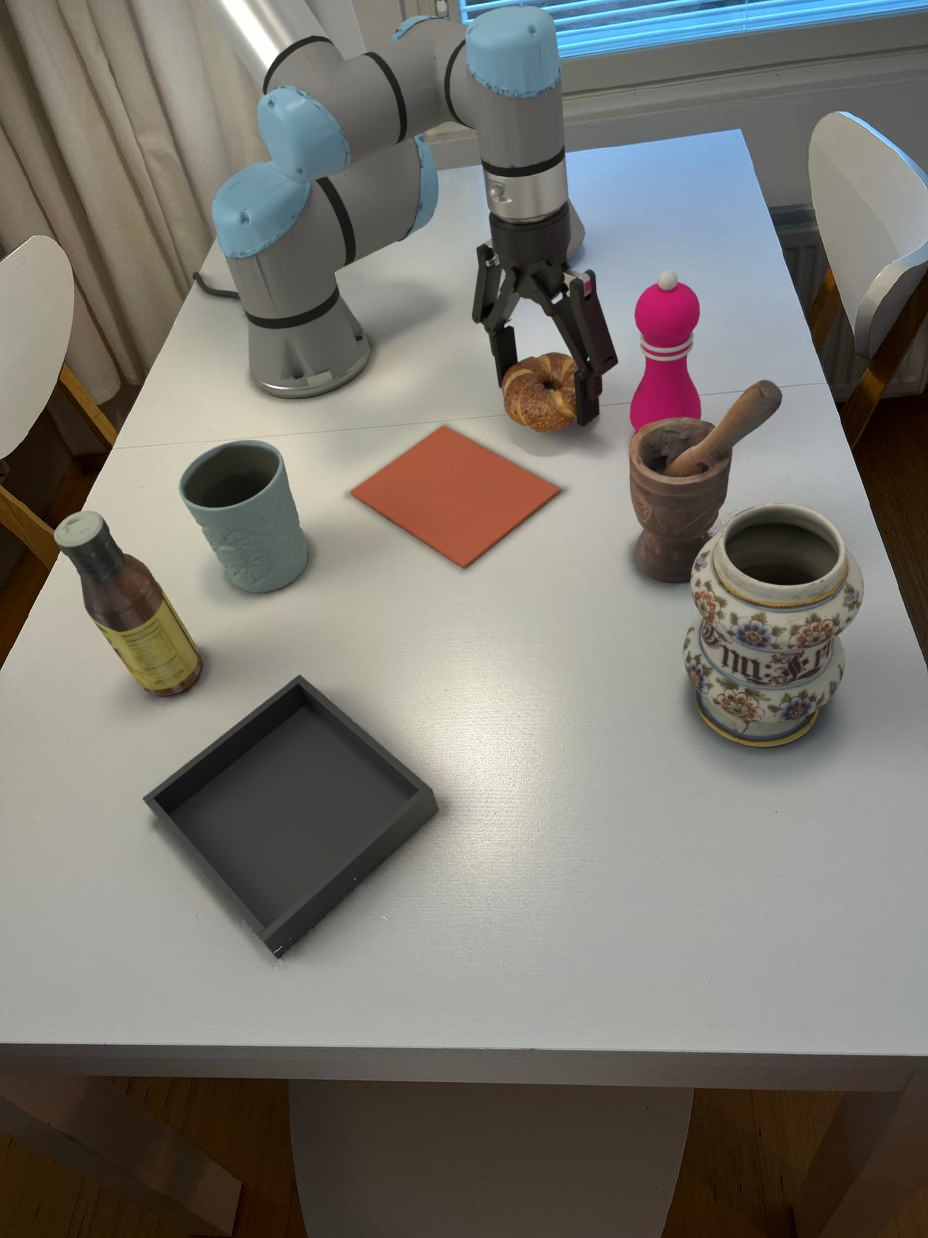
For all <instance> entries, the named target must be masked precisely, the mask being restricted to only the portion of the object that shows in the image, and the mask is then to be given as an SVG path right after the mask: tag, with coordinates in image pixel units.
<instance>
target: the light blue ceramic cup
mask: <svg viewBox="0 0 928 1238" xmlns="http://www.w3.org/2000/svg"><path fill="white" fill-rule="evenodd" d="M288 477H289V476H288V473H287V468H286V465H285V460H284V458H283V455H282V453H281V452H280V451H279V449H278V448H277V447H276V446H274V445H272V444H271V443H269V442H266V441H262V440H258V439H240V440H233V441H229V442H225V443H222V444H219V445H216V446H214V447H212V448H210V449H208V450H207V451H205V452H202V453H201V454H200V455H199V456H197V457H196V458H195V459H194V460H193V461H192V462H190V464H189V465H188V466H187V467H186V468H185V470H184V471H183V473H182V474H181V476H180V479H179V481H178V494H179V496H180V498H181V500H182V502H183V503H184V505H185V507H186V508H187V510H188V511H189V512H190V514H191V516H192V517H193V518H194V520H195V522H196V524H197V525H198V526H200V527H201V533H202V534H203V536H204V537H205V540H206V541H207V542H208V544H209V546H210V548H211V549H212V551H213V552H214V554H215V556H216V558H217V559H218V561H219V563H220V564H221V566H222V568H223V570H224V571H225V573H226V575H227V577H228V578H229V580H230V581H231V583H233V584H234V585H235V586H236V587H237V588H239V589H241V590H242V591H245V592H248V593H251V594H252V593H254V594H261V593H270V592H274V591H277V590H280V589H282V588H284V587H286V586H288V585H289V584H291V583H293V582H294V581H295V580H296V579H298V577H299V576H300V575H301V574H302V573H304V570H305V568H306V566H307V564H308V562H309V555H310V554H309V547H308V543H307V540H306V536H305V532H304V530H303V529H302V528H301V526H300V516H299V513H298V509H297V506H296V502H295V500H294V497H293V493H292V490H291V487H290V482H289V478H288Z"/></svg>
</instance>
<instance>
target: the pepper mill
mask: <svg viewBox="0 0 928 1238" xmlns="http://www.w3.org/2000/svg"><path fill="white" fill-rule="evenodd" d="M700 317H701V305H700V301H699V298H698V296H697V294H696V293H695V291H694V290H693V289H692V288H691V287H690V286H688V284H685V283H683V282H680V281H679V280H678V275H677V273H676V272H675V271H673V270H671V269H666V270H664V271H662V272H661V273H659V275H658V277H657V282H656V283H654V284H652V285H650V286H649V287H647V288H646V289H644V291H643V292H641V294H640V296H639V297H638V299H637V301H636V304H635V308H634V321H635V326H636V328H637V329H638V331H639V332H640V335H639V340H640V344H639V349H640V352H641V353H642V354H643V355H644V356H645V357H644V358H645V369H644V373H643V376H642V378H641V380H640V382H639V384H638V386H637V387H636V389H635V391H634V393H633V396H632V399H631V402H630V405H629V421H630V424H631V426H632V428H633V429H634V435H635V434H636V433H638V432H639V430H640V429H641V428H642V427H643V426H645V425H646V424H651V423H653V422H656V421H658V420H660V421H661V420H663V419H669V418H680V417H688V418H695V419H700V420H702V419H701V418H702V403H701V398H700V395H699V392H698V390H697V387H696V385H695V383H694V382H693V380H692V378H691V375H690V374H689V370H688V355H689V353H690V352H692V349H693V348H694V336H695V334H694V330H695V328H696V327H697V325H698V323H699V321H700Z"/></svg>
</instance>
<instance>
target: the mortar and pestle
mask: <svg viewBox="0 0 928 1238" xmlns="http://www.w3.org/2000/svg"><path fill="white" fill-rule="evenodd" d="M782 402H783V392H782V390H781V388H780V387H779V386H778V385H777V384H776V383H775V382H773V381H772V380H770V379H761V380H758V381H756V382H755V383H753V384H751V385H750V386H748V387H747V388H746V389H745V390H744V391H743V392H742V393H741V395H740V396H739V397H738V398H737V399H736V400H735V402H734V403H733V404H732V405H731V406H730V407H729V409H728V411H727V412H726V413H725V415H724V416H723V418H722V419H721V420H720V421H719V422H718V424H717V425H714V424H713V423H711V422H709V421H706V420H702V419H695V418H688V417H680V418H669V419H663V420H661V421H660V420H658V421H656V422H653V423H651V424H646V425H645V426H643V427H642V428H641V429H640V430H639V432H638V433H636V434H635V433H634V436H633V438H632V439H631V442H630V443H629V452H628V453H629V455H628V457H629V458H628V462H629V477H628V478H629V493H630V498H631V504H632V507H633V510H634V514H635V516H636V519H637V522H638V523H639V524H640V526H641V527H642V529H643V530H642V531H641V533H640V535H639V536H638V539H637V542H636V545H635V550H634V556H635V560H636V563H637V565H638V566H639V569H640V570H641V571H642V572H643V573H644V574H645V575H646V576H648V577H650V578H652V579H653V580H656V581H659V582H664V583H679V582H680V583H682V582H689V581H691V572H692V567H693V564H694V561H695V559H696V557H697V555H698V553H699V552H700V550H701V549H702V548H703V546H704V545H705V544H706V543H707V542H708V541H709V540H710V539H711V538H712V537H711V536H710V534H709V533H708V531H710V530H711V529H712V527H714V526H713V525H715V523H716V521H717V519H718V517H719V514H720V512H719V511H720V510H721V508H722V507H723V505H724V504H725V503H726V502H725V501H726V498H727V494H728V487H729V481H730V473H731V469H732V468H731V467H732V459H733V447H734V446H736V444H738V443H739V442H741V441H742V440H743V439H744V438H745V437H747V436H749V434H751V433H752V432H754V431H755V430H757V429H758V428H760V427H761V426H762V425H763V424H764V423H765V422H767V421H768V420H769V419H770V418H771V417H772V416H773V415H774V414H775V413H776V412H777V411H778V410H779V409H780V407H781V405H782Z"/></svg>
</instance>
